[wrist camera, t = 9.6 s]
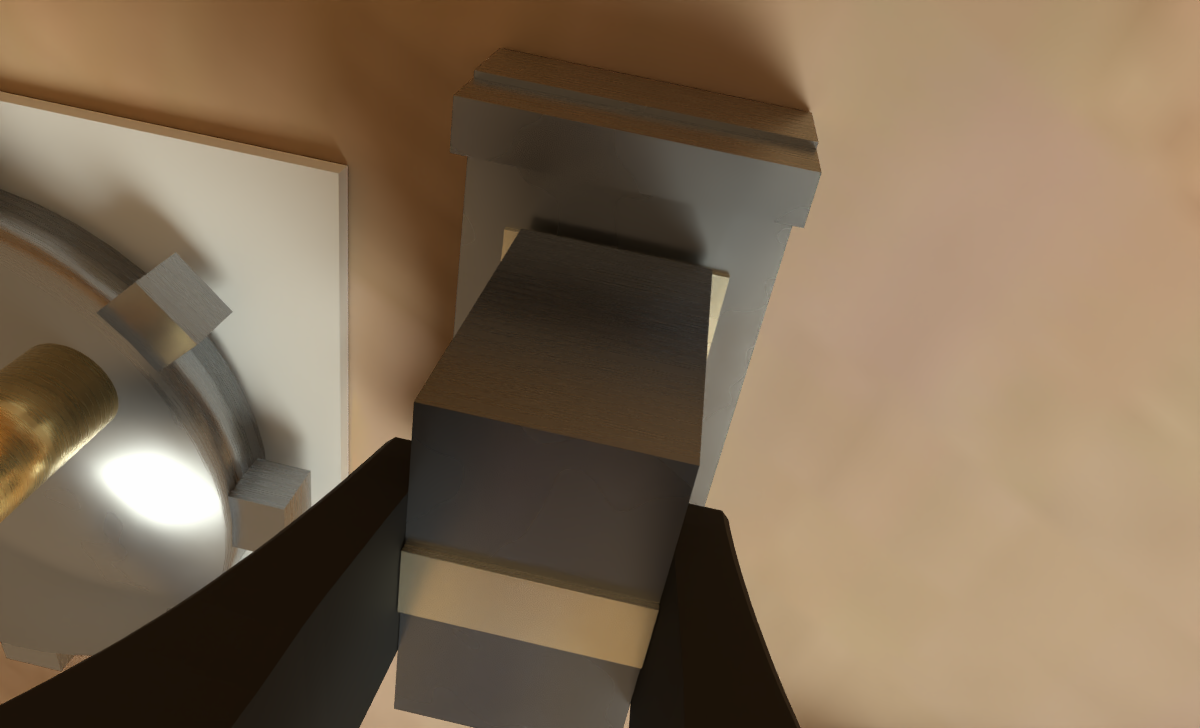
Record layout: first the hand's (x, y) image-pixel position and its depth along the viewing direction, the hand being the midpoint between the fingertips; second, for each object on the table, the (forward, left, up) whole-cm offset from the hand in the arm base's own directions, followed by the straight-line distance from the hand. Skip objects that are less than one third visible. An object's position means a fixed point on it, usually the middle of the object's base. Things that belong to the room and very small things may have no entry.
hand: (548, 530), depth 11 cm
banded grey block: (0, 0, -4) cm, 4 cm away
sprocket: (-5, +12, -6) cm, 14 cm away
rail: (0, 0, -6) cm, 6 cm away
